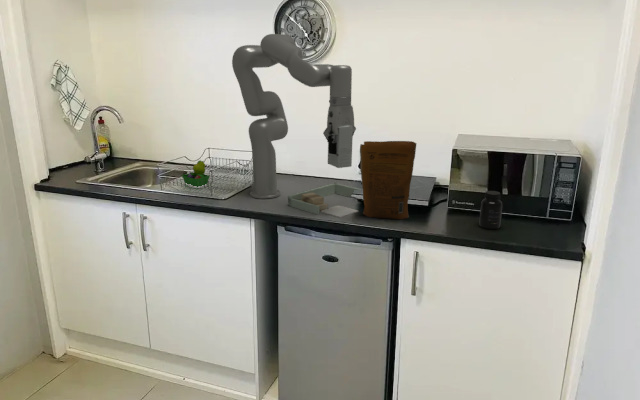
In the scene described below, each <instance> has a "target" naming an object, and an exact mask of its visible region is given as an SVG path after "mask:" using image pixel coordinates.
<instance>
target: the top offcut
mask: <svg viewBox="0 0 640 400" xmlns="http://www.w3.org/2000/svg"><path fill="white" fill-rule="evenodd" d="M324 197H325V196H324ZM324 197H321V196H319V195H317V194H315V193H307V194H302V201H304V202H307V203H310V204H313V205H320V204H324V203H325V199H324Z"/></svg>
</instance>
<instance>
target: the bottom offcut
mask: <svg viewBox="0 0 640 400" xmlns="http://www.w3.org/2000/svg"><path fill="white" fill-rule="evenodd" d="M300 201H302V200H300ZM303 202H304V201H303ZM317 206H320V211H322V210H325V209H328V207H329V206H328V204H327V203H325V202H324V204H320V205H317Z"/></svg>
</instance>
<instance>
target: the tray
mask: <svg viewBox="0 0 640 400" xmlns="http://www.w3.org/2000/svg"><path fill="white" fill-rule="evenodd" d="M361 189H362V188H358V187H354V186H351V185H345V184H342V183H337V182H333V183H330V184H326V185H323V186H319V187H315V188H312V189H308V190H305V191H301V192H297V193H293V194H288V195H287V205H288V207H292V208H294V209H298V210H302V211H305V212H307V213H311V214H314V215H320V214H321V212H320V206H317V205H313V204H310V203H307V202H303V201H300V200H302V194H307V193H315V194H317V195H319V196H321V197H327V196H330V195H331V196H332V195H334V194H337V195H341V196H345V197H349V198H352V197H351V195H352V193H353V192H354V190H361Z"/></svg>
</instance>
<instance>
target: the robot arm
mask: <svg viewBox="0 0 640 400" xmlns="http://www.w3.org/2000/svg"><path fill="white" fill-rule="evenodd" d="M303 58H304V52H303V50H302V49H301V47H299V46H298V45H297V44H296V41H295V39H294V38H293V37H292V36H291V35H288V34H283V33H282V34H280V33H269V34H266V35H265V36H263V37H262V39H261V40H260V45H258V44H247V45H246V44H245V45H240V46H239V47H237V48H236V49H235V51H234V53H233V55H232V59H231V64H232V66H231V67H232V70H233V73H234V76H235V77H236V80H237V83H238V85H239V88H240V94H241V96H242V97H241V98H242V100H243V103H244V108H245V110H246V112H247V114H248V115H250V116H251V117H263V116H266V118H259V119H256V120H254V121H252V122H251V123H250V125H249V126H248V137H249V141H250V146H251V157H252V159H251V160H252V175H253V176H252V179H253V182H251V183H250V184H249V187H250V188H252V191H250V193H249V194H250V197H251V198H255V199H261V200H262V199H264V200H265V199H274V198H277V197H279V196H280V195H281V190H279V189H278V188H277V184H278V183H277V157H276V155H277V154H276V149H275V147H274V145H273V143H272V142H274V141H279V140H283V139H285V138H286V137H287V135H288V133H289V132H288V131H289V126H288V120H287V117H286V114H285V109H284V107H283V103H282V99H281V98H280V96H279V95H278V94H277V93H276V92H274V91H272V90H271V91H270V90H265V91H264V89H263V86H262V83H261V80H260V78H259V76H258V74H257V73H256V71H254V70H253V69H255V68H257V69H258V68H259V69H261V68H270V67H273V66H275V65H277V64H280V65H281V66H283V67H284V68H286V69H287V71H288V73H289V74H290V76H291V77H292V78H293V79H294V80H296V81H298V82H299V83H301V84H303V85H304V86H307V87H310V88H317V87H318V88H319V87H329V100H328V102H329V106H328V110H327V116H326V117H327V119H326V128H325V129H324V130H323V135H324V136H323V137H325V140H327V143H328V142H329V153H330V154H336V143H335V141H336V135H337V136H338V135H339V127H342V126H347V125H350V126H353V136H354V135H355V132H356V130H357V128H356V126H355V113H354V106H353V105H352V85H353V84H352V83H353V82H352V79H353V78H352V76H353V74H352V73H353V71H352V67H351V66H350V65H346V64H345V65H344V64H343V65H341V64H338V65H334V64H328V63H327V64H326V63H325V64H321V63H319V64H315V63H314V64H312V63H310V62H308V61H306V60H304V59H303ZM333 133H334V134H333ZM332 136H334V137H333V138H332Z"/></svg>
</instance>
